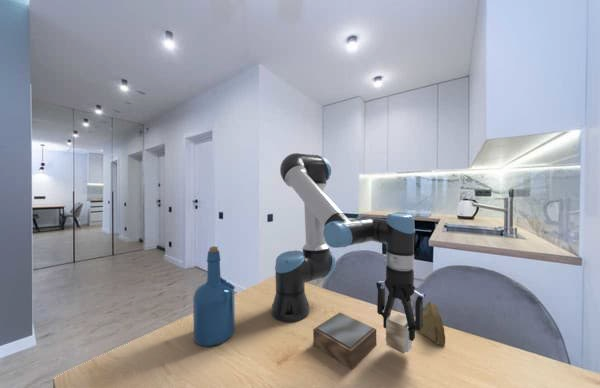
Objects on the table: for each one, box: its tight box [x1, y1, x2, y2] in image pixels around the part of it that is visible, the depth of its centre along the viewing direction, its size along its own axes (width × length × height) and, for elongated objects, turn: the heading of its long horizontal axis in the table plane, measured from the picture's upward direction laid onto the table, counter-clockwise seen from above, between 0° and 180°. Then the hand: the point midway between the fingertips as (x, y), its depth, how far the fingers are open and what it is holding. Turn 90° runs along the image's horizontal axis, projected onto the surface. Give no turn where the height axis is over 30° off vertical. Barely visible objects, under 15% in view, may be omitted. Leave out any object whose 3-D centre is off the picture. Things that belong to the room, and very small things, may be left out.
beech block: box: [385, 311, 408, 355], centre depth 67 cm, size 5×5×8 cm
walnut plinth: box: [312, 311, 377, 370], centre depth 71 cm, size 14×14×5 cm
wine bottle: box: [192, 245, 236, 347], centre depth 77 cm, size 14×13×30 cm
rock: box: [418, 301, 446, 346], centre depth 75 cm, size 11×9×10 cm
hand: (398, 344), depth 67 cm, fingers closed on beech block, 5 cm apart
